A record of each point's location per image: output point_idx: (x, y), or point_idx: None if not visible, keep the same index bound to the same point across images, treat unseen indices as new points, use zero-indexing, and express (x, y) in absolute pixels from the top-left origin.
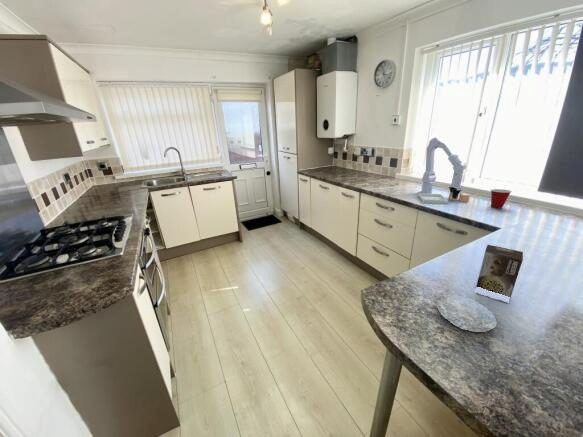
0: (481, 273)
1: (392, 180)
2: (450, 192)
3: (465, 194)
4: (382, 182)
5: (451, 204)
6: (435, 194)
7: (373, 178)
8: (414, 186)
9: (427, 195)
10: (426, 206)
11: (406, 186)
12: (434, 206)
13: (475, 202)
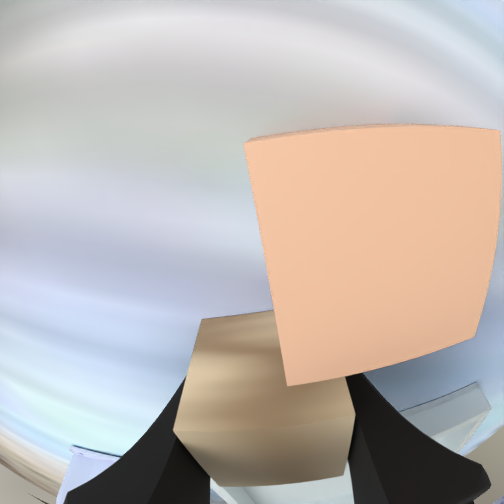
0: None
1: (3, 456)
2: (253, 485)
3: (421, 250)
4: (57, 491)
5: (494, 354)
6: (229, 490)
7: (31, 482)
8: (12, 442)
9: (246, 498)
10: (482, 440)
11: (43, 468)
12: (495, 419)
13: (384, 7)
